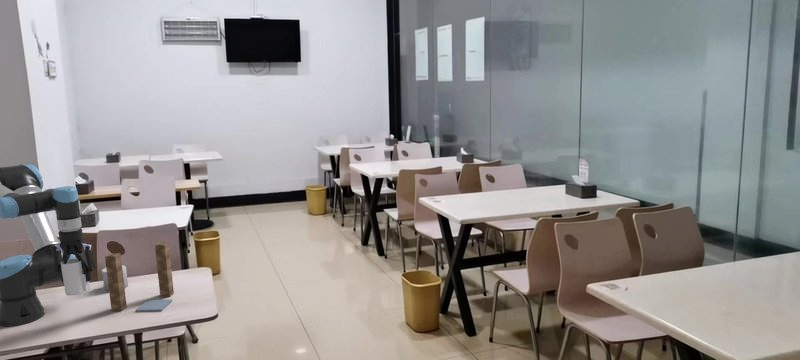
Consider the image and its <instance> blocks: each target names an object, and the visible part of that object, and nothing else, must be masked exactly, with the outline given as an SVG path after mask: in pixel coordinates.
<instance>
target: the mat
mask: <svg viewBox="0 0 800 360" xmlns="http://www.w3.org/2000/svg"><path fill="white" fill-rule="evenodd" d="M172 302H173V299H146V300H145V302H143V303H142V304H141V305H139V306H138V307H137V308H136V309H135V312H136V313H139V312H140V313H142V312H143V313H144V312H146V313H147V312H163V311H164V310H165V309H166V308H167V307H168V306H169V305H170V304H171V303H172Z"/></svg>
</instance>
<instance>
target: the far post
mask: <svg viewBox="0 0 800 360" xmlns="http://www.w3.org/2000/svg"><path fill="white" fill-rule="evenodd" d="M154 251H155V252H154V253H155V260H156V271H157V278H158V279H157V280H158V286H159V287H158V288H159V298H170V297H172V296H173V295H174V294H175V290H174V281H173V271H172V261H171V252H170V243H169V242H166V241H165V242H163V241H162V242H160V241H159V242H158V243H156V244H155V245H154Z"/></svg>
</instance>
